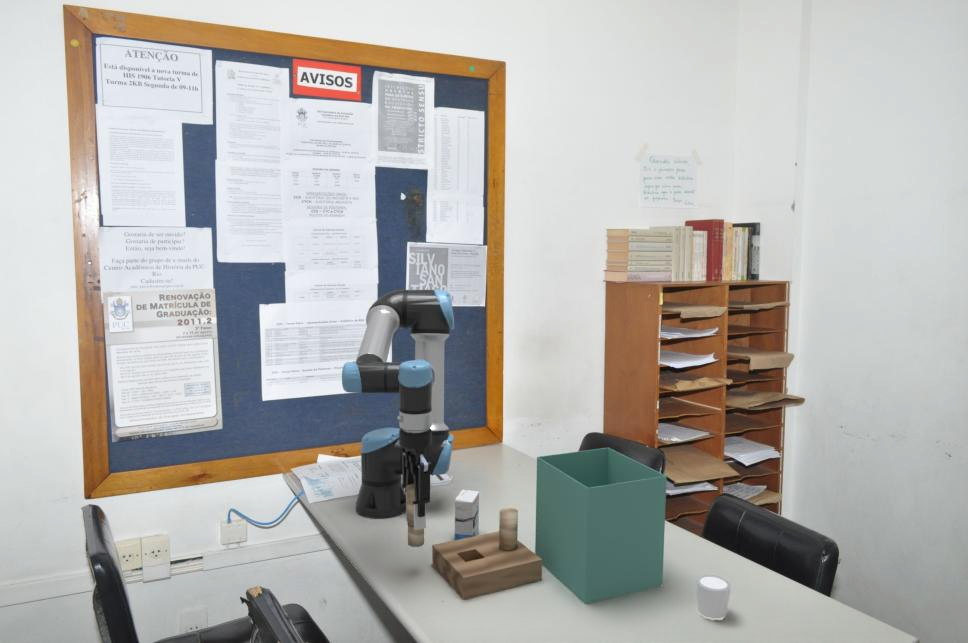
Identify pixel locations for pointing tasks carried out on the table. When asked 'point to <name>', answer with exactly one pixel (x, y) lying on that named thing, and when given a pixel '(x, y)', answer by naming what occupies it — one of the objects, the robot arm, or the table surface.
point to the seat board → (488, 560)
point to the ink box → (466, 514)
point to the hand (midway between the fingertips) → (415, 524)
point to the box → (600, 522)
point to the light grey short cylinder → (712, 596)
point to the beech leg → (412, 519)
